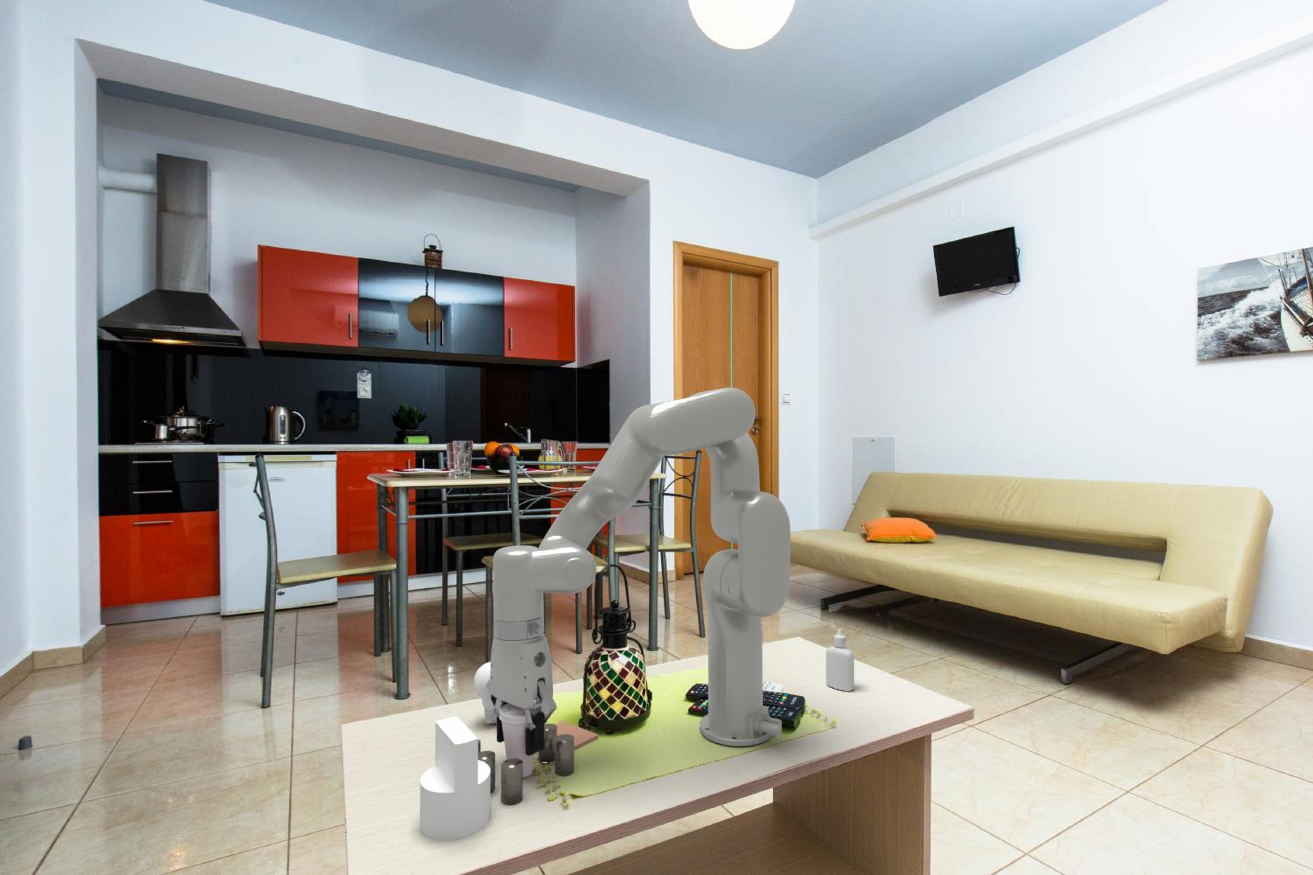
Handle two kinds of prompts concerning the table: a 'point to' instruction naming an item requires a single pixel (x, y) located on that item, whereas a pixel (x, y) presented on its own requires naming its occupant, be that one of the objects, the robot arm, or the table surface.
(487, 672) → the lightbulb
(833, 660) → the eye dropper bottle
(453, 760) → the base with upright slab
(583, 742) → the tile
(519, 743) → the smoothie
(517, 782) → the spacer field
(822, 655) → the table surface
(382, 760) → the table surface
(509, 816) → the table surface
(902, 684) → the table surface
